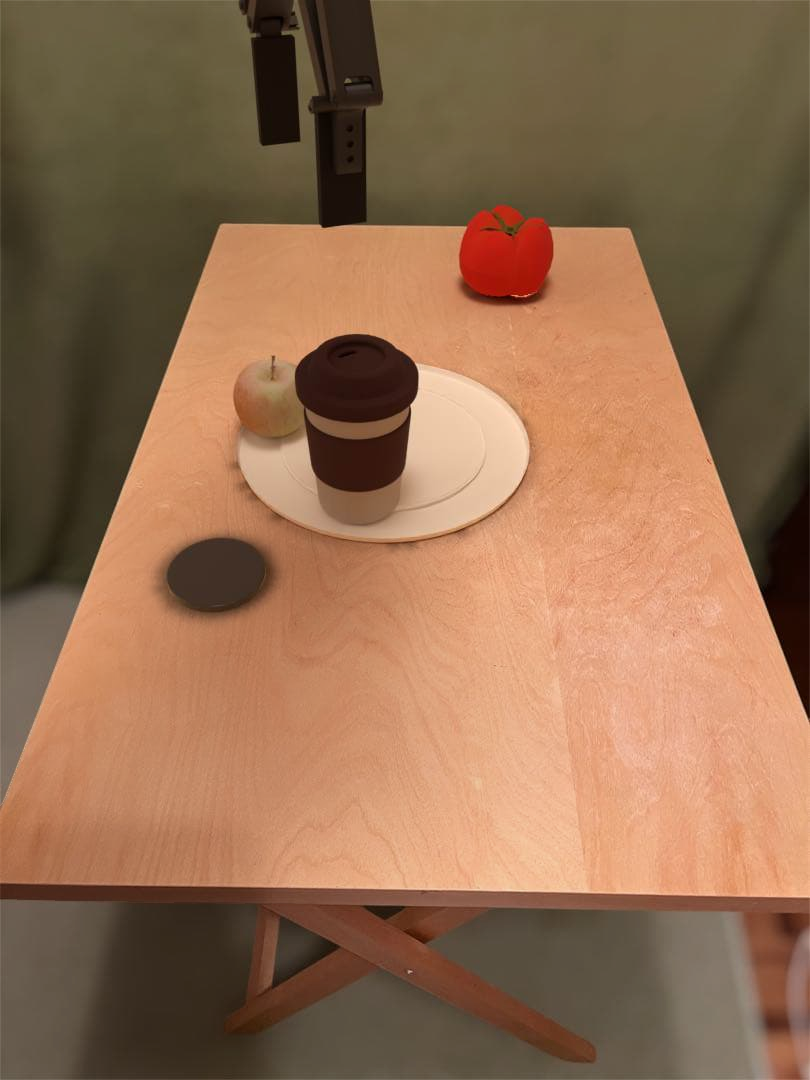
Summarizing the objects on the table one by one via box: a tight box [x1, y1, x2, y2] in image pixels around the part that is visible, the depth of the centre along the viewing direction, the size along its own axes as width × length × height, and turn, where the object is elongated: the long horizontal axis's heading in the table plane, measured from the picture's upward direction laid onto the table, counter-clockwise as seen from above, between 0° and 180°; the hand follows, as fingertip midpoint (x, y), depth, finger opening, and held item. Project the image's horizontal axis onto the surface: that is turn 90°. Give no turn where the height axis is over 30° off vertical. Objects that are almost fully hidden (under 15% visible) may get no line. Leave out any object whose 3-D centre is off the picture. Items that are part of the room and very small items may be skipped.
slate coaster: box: [166, 537, 267, 613], centre depth 75 cm, size 8×8×1 cm
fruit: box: [232, 354, 305, 437], centre depth 87 cm, size 8×7×8 cm
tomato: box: [458, 204, 555, 299], centre depth 109 cm, size 11×12×9 cm
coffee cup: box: [295, 333, 419, 524], centre depth 77 cm, size 10×10×15 cm
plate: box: [236, 362, 531, 543], centre depth 88 cm, size 28×28×1 cm
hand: (309, 179), depth 58 cm, fingers open, 13 cm apart
